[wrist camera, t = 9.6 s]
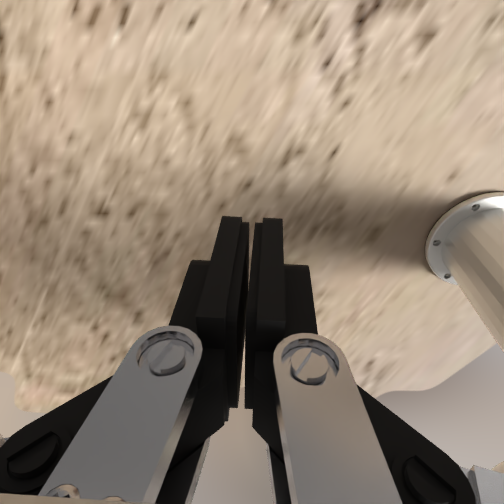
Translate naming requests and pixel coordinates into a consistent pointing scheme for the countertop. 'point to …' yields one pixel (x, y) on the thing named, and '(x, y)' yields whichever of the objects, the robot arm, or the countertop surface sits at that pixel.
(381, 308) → the countertop surface
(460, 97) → the countertop surface
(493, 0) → the countertop surface
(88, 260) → the countertop surface
